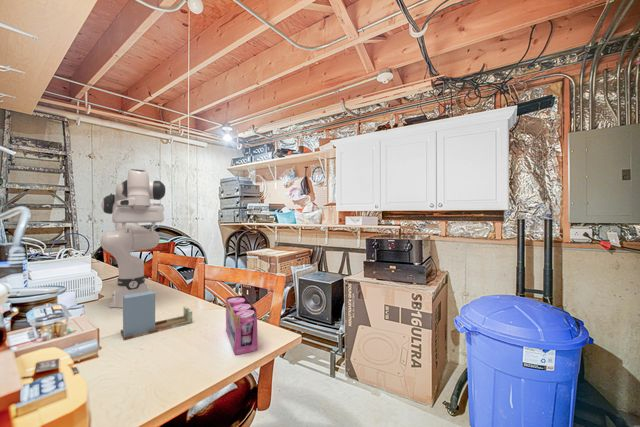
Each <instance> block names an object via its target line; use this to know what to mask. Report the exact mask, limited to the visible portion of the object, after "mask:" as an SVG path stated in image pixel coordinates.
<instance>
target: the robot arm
mask: <svg viewBox="0 0 640 427" xmlns="http://www.w3.org/2000/svg"><path fill="white" fill-rule="evenodd" d="M165 195H166V185H165V184H164V182H162V181H161V180H150V177H149V172H148V171H146V170H144V169H143V170H142V169H134V168H133V169H129V170H128V174H127V179H126V180H123V181H122V182H120V183H118V184H117V185H116V186H115V193H114V194H113V193H112V192H111V193H110V194H109V195H106V196H105V197H103V199H102V201H101V203H100V206H101V209H102V212H104V213H105V214H108V215H112V216H111V222H112V223H114V230H111V231H106V232H104V233H103V235H102V236H101V237H100V240H99V241H100V246H101V248H102V249H103V250H104V251H105V252H107V253H109V254H110V255H111V256H113V257H114V259H115V260H116V262H117V268H118V278H117V281H116V283H117V287H116V288H115V289H114V291H112V293H111V296H112V297H113V298H112V300H111V302H109V305H108V308H122V309H123V295H129V294H135V293H141V292H148V291H149V285H148V284H147V283H145V282H146V276H145V262H144V260H143V259H141V258H140V257H137V256H134V255H132V254H131V252H132V251H146V250H150V249H155V248H156V247H157V246H158V245H159V243H160V235H159V233H158V232H157V231H156V230H154V228H155V226H156V225H157V224H156V223H163V222H164V220H165V215H164V211H165V208H164V205H163V204H162V203H151V200H155V201H160V200H162V199H163V198H164V197H165ZM141 223H142V224H143V223H144V224H146V223H150V224H151V225H152V226H151V227H149V228H146V227H143V226H140V225H139V224H141Z"/></svg>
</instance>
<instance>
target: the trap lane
mask: <svg viewBox="0 0 640 427" xmlns="http://www.w3.org/2000/svg"><path fill="white" fill-rule="evenodd" d="M191 324H193V311H192V310H191V309H190V308H188V307H187V306H183V315H182V316H177V317H172V318H167V319H163V320H158V321H155V329H154V330H150V331H148V333H144V334H140V335H136V336H134V335H129V336H125V337H124V335H123V329H121V330H120V334H121V337H122V340H123V341H128V340H131V339H136V338H140V337H144V336H148V335H151V334H156V333H160V332H164V331H168V330H171V329H175V328H178V327H179V328H180V327H183V326H188V325H191Z"/></svg>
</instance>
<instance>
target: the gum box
mask: <svg viewBox="0 0 640 427" xmlns="http://www.w3.org/2000/svg"><path fill="white" fill-rule="evenodd" d="M225 332H226V335H227V337H228V341H229V343H230V345H231V348H232V351H233V354H234V355H235V356H238V355H241V354H247V353H253V352H256V351H257V352H258V310H257V309H256V308H255V306H254V305H253V304H252V303H251V301H250V300H249V299H248V298H247V296H246V295H245V294H242V295H236V296H227V297H226V298H225Z"/></svg>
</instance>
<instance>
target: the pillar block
mask: <svg viewBox="0 0 640 427" xmlns="http://www.w3.org/2000/svg"><path fill="white" fill-rule="evenodd" d="M155 322H156V292H155V291H154V290H148V292H141V293H135V294H129V295H123V308H122V330H123V335H124V337H125V336H129V335H134V336H136V335H140V334H144V333H148V331H150V330H154V329H155Z"/></svg>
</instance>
